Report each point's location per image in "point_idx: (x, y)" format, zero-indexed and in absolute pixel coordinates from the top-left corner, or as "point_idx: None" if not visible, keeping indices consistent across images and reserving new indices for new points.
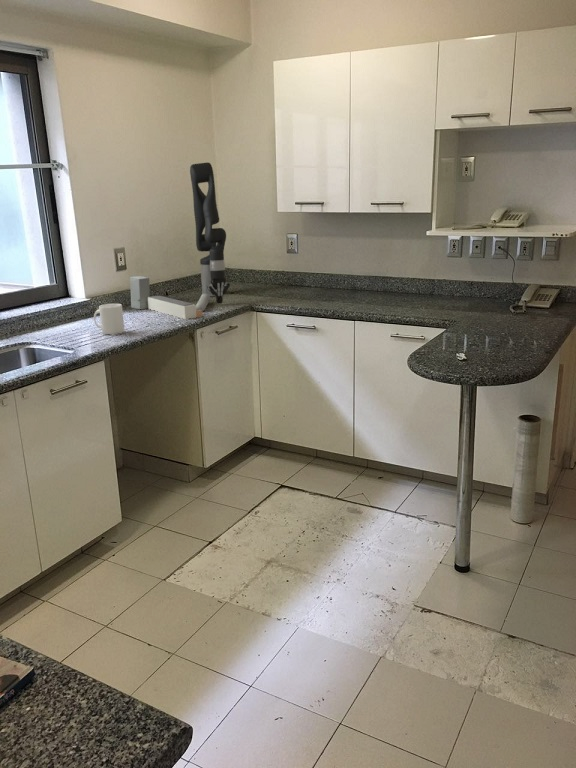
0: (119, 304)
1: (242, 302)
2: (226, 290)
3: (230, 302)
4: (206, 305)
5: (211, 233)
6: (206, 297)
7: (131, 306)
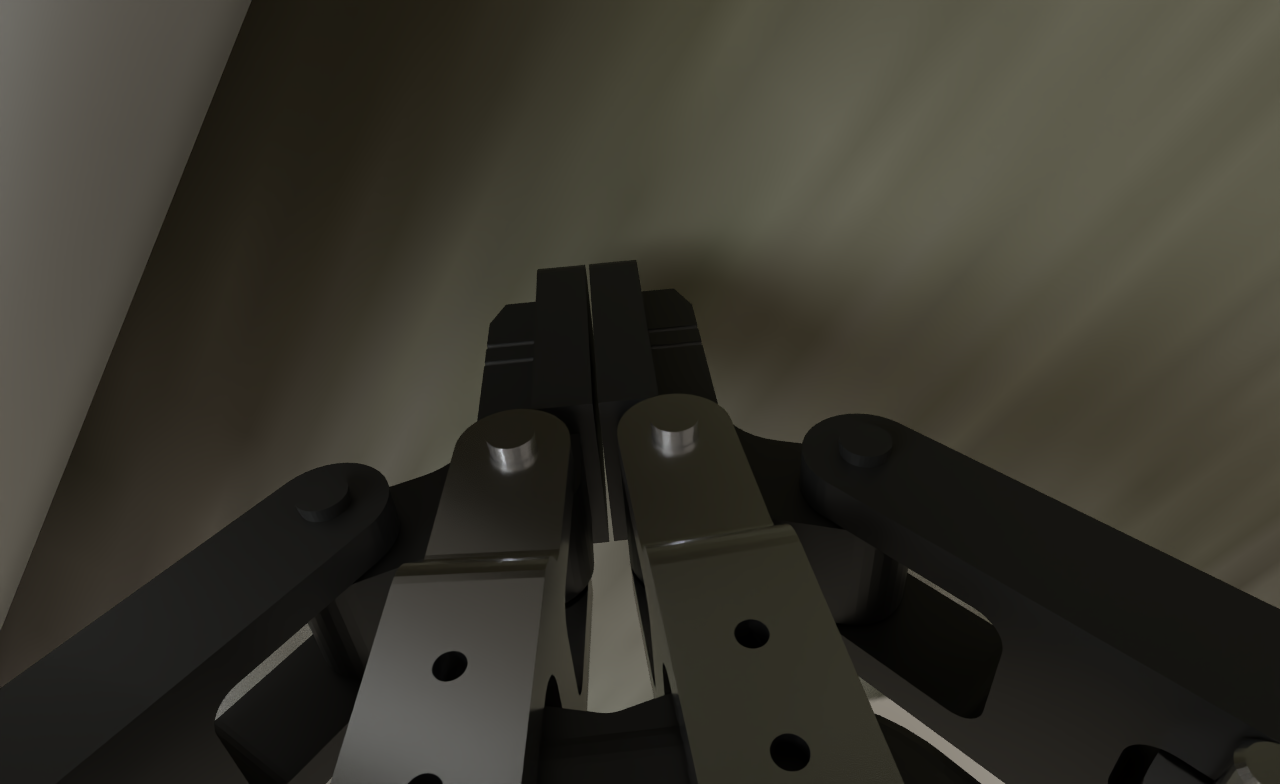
0: None
1: (1253, 349)
2: (988, 674)
3: (1097, 119)
4: (31, 544)
5: None
6: (36, 100)
7: None
